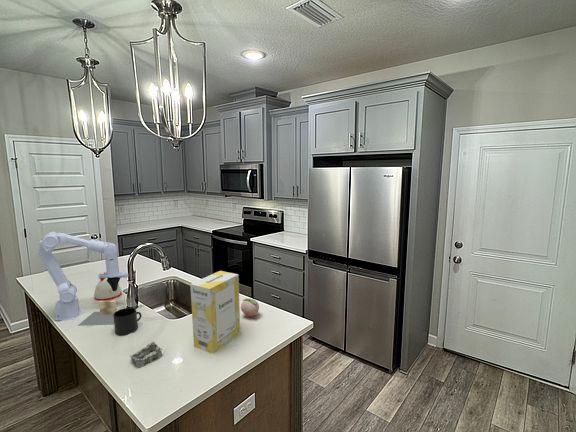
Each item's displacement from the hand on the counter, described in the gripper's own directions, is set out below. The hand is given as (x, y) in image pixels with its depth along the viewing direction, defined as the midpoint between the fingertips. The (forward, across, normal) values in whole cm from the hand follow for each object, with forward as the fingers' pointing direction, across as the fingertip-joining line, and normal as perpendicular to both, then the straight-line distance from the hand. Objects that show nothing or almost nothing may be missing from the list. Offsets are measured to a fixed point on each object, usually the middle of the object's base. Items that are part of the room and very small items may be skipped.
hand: (115, 290), depth 164 cm
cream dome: (+10, +12, -15) cm, 22 cm away
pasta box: (+10, -60, +34) cm, 70 cm away
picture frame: (+10, 0, +12) cm, 15 cm away
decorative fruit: (+10, -73, +14) cm, 75 cm away
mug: (+10, -17, +23) cm, 30 cm away
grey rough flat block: (+10, -34, +46) cm, 58 cm away
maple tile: (+9, 0, +8) cm, 12 cm away
